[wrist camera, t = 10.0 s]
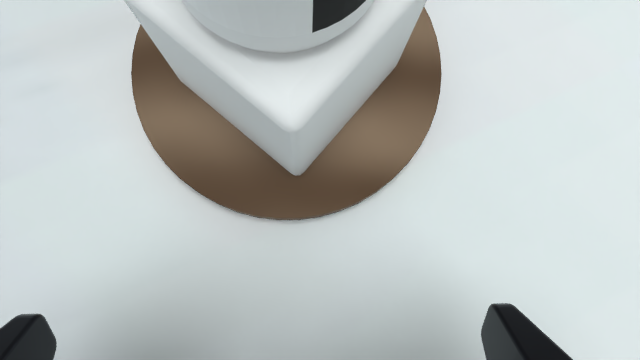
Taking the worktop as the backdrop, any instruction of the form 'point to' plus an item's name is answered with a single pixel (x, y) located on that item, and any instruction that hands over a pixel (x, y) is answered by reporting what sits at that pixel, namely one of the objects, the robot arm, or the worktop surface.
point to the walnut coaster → (261, 169)
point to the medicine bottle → (282, 62)
